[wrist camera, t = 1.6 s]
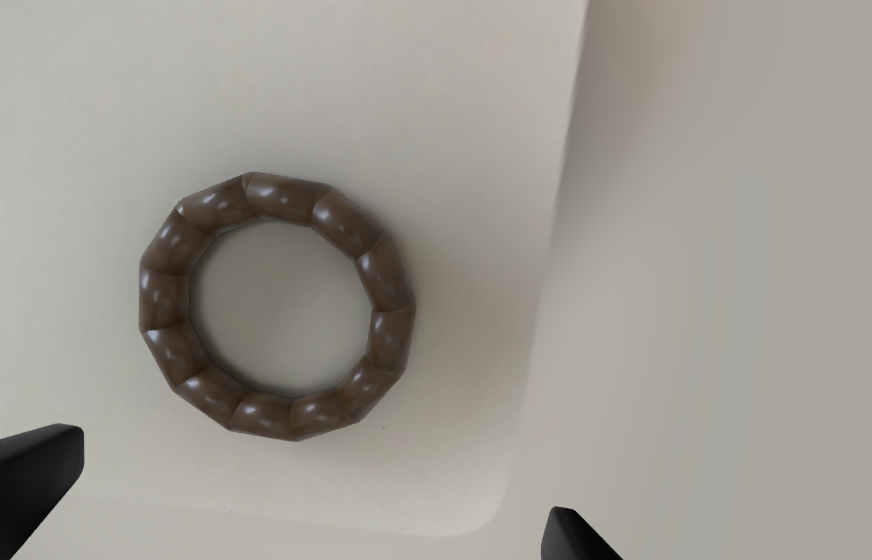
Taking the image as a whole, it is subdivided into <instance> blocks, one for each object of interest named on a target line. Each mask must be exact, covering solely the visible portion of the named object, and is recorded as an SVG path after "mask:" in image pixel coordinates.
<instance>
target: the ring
mask: <svg viewBox="0 0 872 560" xmlns="http://www.w3.org/2000/svg"><path fill="white" fill-rule="evenodd" d="M258 219H265V220H271V221H277V222H282V223H288V224H293V225H299V226H305V227H310V228H312V229H313V230H315V231H316V232H317V233H318V234H320V235H321V236H322V237H323V238H325V239H326V240H327V241H328V242H330V243H331V244H332V245H333V246H335V247H336V248H337V249H338V250H340V251H341V252H342V253H343V254H345V255H346V256H347V257H348V258H350V259H351V260H352V261H353V262H354V265H355V267H356V270H357V272H358V274H359V277H360V279H361V282H362V284H363V286H364V289H365V291H366V294H367V296H368V299H369V301H370V303H371V306H372V308H373V309H372V316H371V323H370V329H369V336H368V343H367V350H366V354H365V355H364V356H363V357H362V359H361V360H360V361H359V362H358V363H357V364H356V366H355V367H354V368H353V369H352V370H351V371H350V373H349V374H348V375H347V376H346V377H345V378H344V380H343V381H342V382H341V383H340V384H339V385H338V386H335V387H332V388H329V389H326V390H323V391H320V392H317V393H314V394H311V395H308V396H305V397H302V398H299V399H292V398H286V397H281V396H275V395H269V394H263V393H257V392H252V391H249V390H248V389H247V388H245V387H244V386H242V385H241V384H240V383H238V382H237V381H236V380H234V379H233V378H232V377H230V376H229V375H227V374H226V373H225V372H223V371H222V370H221V369H219V368H218V367H216V366H215V365H214V364H212V363H211V362H210V360H209V358H208V356H207V354H206V352H205V350H204V348H203V346H202V345H201V343H200V341H199V339H198V337H197V335H196V333H195V331H194V329H193V327H192V325H191V323H190V321H189V319H188V313H189V291H190V272H191V270H192V269H193V268H194V266H195V265H196V263H197V262H198V261H199V259H200V258H201V256H202V255H203V254H204V252H205V251H206V249H207V248H208V247H209V245H210V244H211V242H212V241H213V239H214V238H215V237H216V235H219V234H221V233H224V232H227V231H229V230H232V229H234V228H237V227H240V226H242V225H245V224H247V223H250V222H253V221H255V220H258ZM415 312H416V300H415V297H414V294H413V291H412V289H411V286H410V284H409V281H408V279H407V276H406V273H405V271H404V268H403V266H402V263H401V261H400V258H399V255H398V253H397V250H396V248H395V245H394V243H393V240H392V238H391V236H390V235H389V233H388V232H387V231H385V230H384V229H383V228H382V227H381V226H379V225H378V224H377V223H376V222H375V221H373V220H372V219H371V218H370V217H368V216H367V215H366V214H365V213H364V212H362V211H361V210H360V209H359V208H358V207H356V206H355V205H354V204H353V203H351V202H350V201H349V200H348V199H347V198H345V197H344V196H343V195H342V194H341V193H339V192H338V191H337V190H336V189H334V188H333V187H331V186H329V185H327V184H322V183H317V182H311V181H306V180H300V179H294V178H289V177H283V176H277V175H272V174H266V173H261V172H249V173H245V174H243V175H240V176H237V177H235V178H232V179H230V180H227V181H225V182H222V183H220V184H217V185H215V186H212V187H210V188H207V189H205V190H202V191H200V192H197V193H195V194H192V195H190V196H187V197H185V198H183V199H182V200H181V201H179V202H178V204H177V205H176V206H175V208H174V209H173V211H172V212H171V214H170V215H169V217H168V218H167V220H166V221H165V222H164V224H163V225H162V227H161V228H160V230H159V231H158V233H157V234H156V236H155V237H154V239H153V240H152V242H151V243H150V245H149V246H148V248H147V249H146V250H145V252H144V253H143V255H142V257H141V259H140V273H139V330H140V333H141V335H142V336H143V338H144V340H145V342H146V344H147V346H148V348H149V349H150V351H151V353H152V355H153V357H154V359H155V360H156V362H157V364H158V366H159V368H160V370H161V372H162V373H163V375H164V377H165V379H166V381H167V383H168V385H169V386H170V388H171V389H172V391H173V392H175V393H176V394H177V395H179V396H180V397H181V398H183V399H184V400H186V401H187V402H189V403H190V404H191V405H193V406H194V407H196V408H197V409H198V410H200V411H201V412H203V413H204V414H205V415H207V416H208V417H210V418H211V419H213V420H214V421H215V422H217V423H218V424H220V425H221V426H222V427H224V428H225V429H227V430H229V431H232V432H238V433H244V434H249V435H255V436H261V437H267V438H273V439H279V440H285V441H290V442H298V441H302V440H305V439H309V438H312V437H315V436H318V435H321V434H324V433H327V432H330V431H334V430H337V429H340V428H343V427H346V426H349V425H352V424H355V423H358V422H360V421H361V420H362V419H363V418H364V417H365V416H366V415H367V414H368V413H369V412H370V411H371V410H372V408H373V407H374V406H375V405H376V404H377V403H378V402H379V401H380V399H381V398H382V397H383V396H384V395H385V394H386V393H387V392H388V391H389V389H390V388H391V387H392V386H393V385H394V384H395V383H396V382H397V380H398V379H399V378H400V377H401V376H402V375H403V373H404V371H405V369H406V365H407V359H408V353H409V348H410V342H411V336H412V330H413V324H414V318H415Z"/></svg>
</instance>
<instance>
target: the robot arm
mask: <svg viewBox="0 0 872 560" xmlns="http://www.w3.org/2000/svg"><path fill="white" fill-rule="evenodd" d="M83 468H84V432H83V430H82V429H81V428H80V427H78V426H73V425H67V424H60V423H59V424H52V425H49V426H45V427H42V428H38V429H35V430H31V431H28V432H24V433H21V434H17V435H14V436H10V437H7V438H3V439H0V560H10V559H11V558H12V557H13V555H14V554H15V553H16V552H17V551H18V550H19V549H20V548H21V546H22V545H23V544H24V543H25V542H26V541H27V539H28V538H29V537H30V536H31V535H32V533H33V532H34V531H35V530H36V529H37V527H38V526H39V525H40V524H41V523H42V521H43V520H44V519H45V518H46V517H47V515H48V514H49V513H50V512H51V511H52V509H53V508H54V507H55V506H56V505H57V503H58V502H59V501H60V500H61V499H62V497H63V496H64V495H65V494H66V493H67V492H68V490H69V489H70V488H71V487H72V486H73V484H74V483H75V482H76V481H77V480H78V478H79V477H80V475H81V473H82V471H83ZM541 559H542V560H623V559H622V558H621V557H620V556H619V555H618V554H617V553H616V552H615V551H614V550H613V549H612V548H611V547H610V546H609V545H608V544H607V542H605V540H603V538H602V537H601V536H599V534H598V533H597V532H596V531H595V530H594V529H593V528H592V527H591V526H590V525H589V524H588V523H587V522H586V521H585V520H584V519H583V518H582V517H581V516H580V515H579V514H578V513H577V512H576V511H575V510H573V509H569V508H563V507H557V506H556V507H553V508H552V509H551V511H550V513H549V517H548V521H547V524H546V528H545V531H544V535H543V539H542V544H541Z"/></svg>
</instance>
